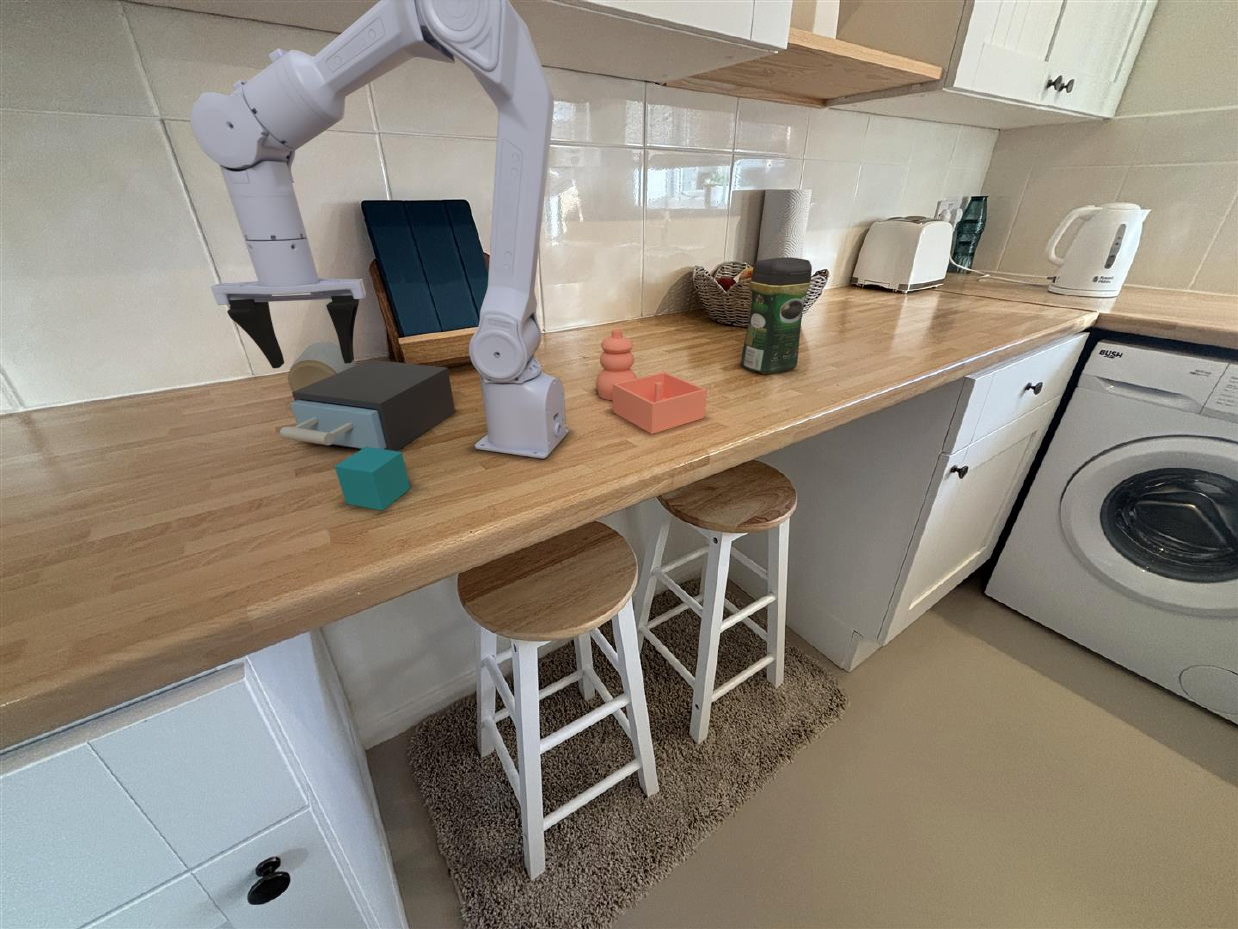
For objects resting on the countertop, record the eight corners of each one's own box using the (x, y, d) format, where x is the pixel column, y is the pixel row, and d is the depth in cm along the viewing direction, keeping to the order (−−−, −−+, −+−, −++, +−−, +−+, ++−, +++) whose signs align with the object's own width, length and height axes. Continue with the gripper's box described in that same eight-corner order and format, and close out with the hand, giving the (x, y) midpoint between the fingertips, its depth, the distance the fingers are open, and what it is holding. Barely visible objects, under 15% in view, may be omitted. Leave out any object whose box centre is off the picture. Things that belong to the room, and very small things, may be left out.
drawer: (352, 469, 54) (340, 430, 52) (270, 455, 57) (255, 417, 55) (441, 411, 68) (435, 378, 66) (372, 402, 71) (364, 370, 69)
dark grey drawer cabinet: (392, 454, 59) (380, 403, 56) (308, 441, 62) (291, 391, 59) (455, 412, 71) (447, 367, 67) (381, 402, 74) (370, 359, 70)
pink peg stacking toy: (704, 417, 69) (711, 348, 65) (651, 434, 65) (654, 361, 60) (629, 382, 82) (630, 322, 77) (580, 393, 77) (578, 330, 73)
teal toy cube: (410, 488, 53) (402, 451, 50) (382, 510, 49) (372, 472, 47) (375, 482, 54) (366, 446, 51) (346, 503, 50) (334, 466, 48)
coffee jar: (772, 358, 94) (789, 253, 85) (803, 370, 88) (824, 258, 79) (732, 365, 91) (745, 256, 82) (760, 378, 84) (778, 261, 75)
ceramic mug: (292, 409, 71) (276, 357, 67) (311, 389, 78) (296, 341, 74) (372, 405, 73) (360, 354, 69) (382, 386, 80) (372, 339, 76)
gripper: (357, 234, 57) (384, 349, 64) (214, 236, 54) (258, 358, 61) (345, 239, 51) (375, 366, 58) (182, 242, 48) (235, 376, 55)
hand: (314, 363), depth 59 cm, fingers open, 7 cm apart
